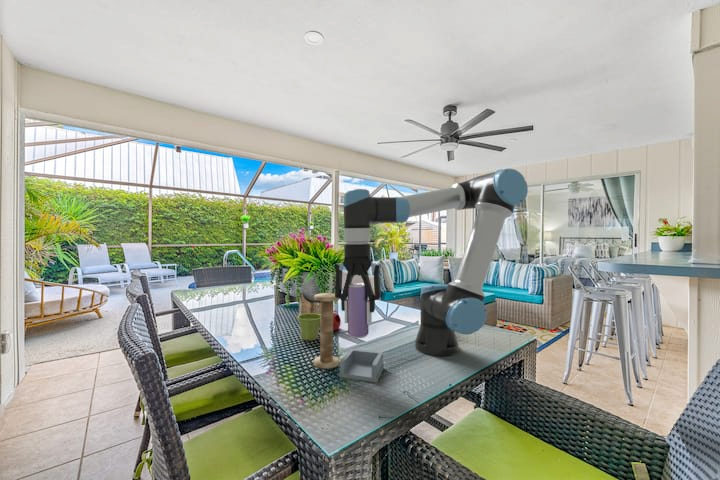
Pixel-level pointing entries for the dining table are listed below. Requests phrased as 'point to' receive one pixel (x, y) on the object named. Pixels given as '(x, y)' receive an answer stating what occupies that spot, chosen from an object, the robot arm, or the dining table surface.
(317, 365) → the spool
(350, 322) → the beverage can
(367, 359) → the gray open box
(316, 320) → the plant pot
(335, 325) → the pomegranate
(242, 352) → the dining table surface
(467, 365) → the dining table surface
